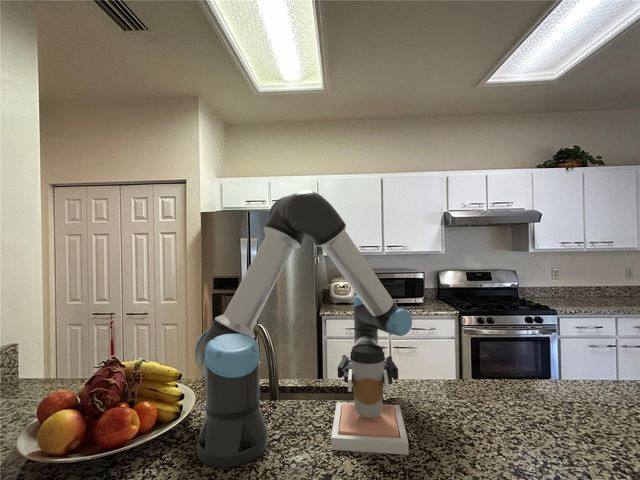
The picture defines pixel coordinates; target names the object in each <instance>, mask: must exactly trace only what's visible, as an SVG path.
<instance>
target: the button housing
mask: <svg viewBox="0 0 640 480" xmlns="http://www.w3.org/2000/svg"><path fill="white" fill-rule="evenodd" d="M335 403H336V404H335V410H334V417H333V424H332V429H331V437H330V450H331V451H342V452H344V451H345V452H357V453H359V452H360V453H377V454H389V455H390V454H393V455H394V454H395V455H410V454H409V440H408V435H407V431H406V427H405V422H404V418H403V415H402V414H403V413H402V410H401V406H400V404H388V405H389V406H394V411H395V416H396V421H397V426H398V431H399V438H391V437H373V436H356V435H339V430H340V421H341V413H342V405H343V403H345V404H355V402H339V401H338V402H335ZM382 405H385V404H383V403H382Z"/></svg>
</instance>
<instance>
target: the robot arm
mask: <svg viewBox="0 0 640 480" xmlns="http://www.w3.org/2000/svg"><path fill="white" fill-rule="evenodd" d="M267 215H268V217H267V219H268V220H267V222H266V224H265V225H264V227H263V231H264V234H265V235H264V236H265V237H264V239H263V241H262V242H261V245H260V246H259V248H258V250H257V252H256V254H255V255H254V257H253V260H251V263H250V265H249V266H248V268H247V270H246V272H245V274H244V276H243V277H242V280H241V282H240V283H239V285H238V287H237V289H236V291H235V293H234V295H233V296H232V298H231V300H230V302H229V303H228V305H227V307H226V309H225V311H224V313H223V314H221V315H218V316H216V317H214V319H213V321H212V323H211V325H210V326H209V329H207V330H205V331H204V332H203V333H202V335H200V337H199V338H198V341H197V342H196V345H195V351H194V352H195V361H196V364H197V367H198V368H199V369H200V371H201V374H202V376H203V378H204V383H205V384H204V385H205V416H204V418H203V419H204V420H203V422H202V426H201V427H200V428H201V429H200V432H199V436H198V438H197V444H196V446H197V447H196V448H197V452H196V453H197V458H198V459H199V460H200V462H202V463H203V464H205V465H207V466H210V467H214V468H219V469H220V468H222V469H223V468H224V469H225V468H234V467H238V466H241V465H246V464H248V463H249V462H252V461H253V460H255V459H257V458H259V457H260V456H261V454H263V453H264V452H265V450H266V448H267V446H268V443H269V441H268V440H269V438H268V436H269V435H268V434H269V433H268V428H267V425H266V423H265V420H264V416H263V414H262V410H261V407H260V361H261V360H260V359H261V356H260V355H261V354H260V350H259V349H260V347H259V343H258V341H257V340H256V339H255V337H256V335H255V332H254V327H255V325H256V323H257V321H258V319H259V317H260V315H261V313H262V311H263V309H264V307H265V304H266V303H267V300H269V297H270V295H271V294H272V292H273V289H274V287H275V286H276V283H277V282H278V280H279V277H280V276H281V274H282V272H283V270H284V267H285V266H286V265H287V261H288V260H289V257H290V256H291V254H292V252H293V251H294V250H297V249H300V248H301V246H302V244H303V243H304V240H305V238H306V237H308V238H309V239H310V240H312V242H313V243H314V245H315V246H316V247H318V248H319V247H320V248H322V249H323V251H324V252H325V253H326V254H327V256H328V257H329V259H330V260H331V262H332V263H333V264H334V266H335V267H336V269H337V270H338V271H339V272H340V274H341V275H342V277H343V278H344V280H346V282H347V283H348V285H349V286H350V287H351V289H352V290H353V292H354V293H355V294H356V295H354V297H353V321H354V322H353V323H354V325H353V327H354V329H353V333H354V336H353V338H354V341H353V344H354V345H353V346H355V345H358V344H374V345H378V346H379V334H378V333H379V331H381V332H384V333H387V334H389V335H391V336H397V337H398V336H399V337H403V336H406V335H407V334H409V332H410V331H411V329H412V325H413V317H412V315H411V314H410V312H409V311H408V310H407V309H403V308H401V307H398V306H397V303H396V302H395V301H394V300H393V298H392V296H391V294H389V292H388V290H386V288H385V287H384V285H383V284H382V282H381V280H380V279H379V277H378V276H377V274H376V273H375V272H374V270H373V269H372V267H371V266H370V265H369V263H368V262H367V260H366V259H365V257H364V256H363V254H362V253H361V251H360V250H359V248H358V247H357V245H356V244H355V243H354V242H353V240H352V238H351V237H350V235H349V234H348V233H347V231H346V230H347V229H346V228H347V224H346V222H345V221H344V220H343V218H342V217H341V215H340V214H339V212H337V210H336V209H335V208H334V206H332V204H331V203H330V202H329V201H328V200H327V199H326V198H324V196H322V195H320V194H319V193H317V192H315V191H312V190H301V191H296V192H295V193H292V194H290V195H285V196H283V197H281V198H279V199H278V200H276V201H275V202H274V203H273V204H272V205H271V207H270V209H269V211H268V214H267ZM378 330H379V331H378ZM341 356H342V357H341V358H342V359H341V361H340V362H339V364H338V366H337V378H338V379H341V378H343V382H344V383H347V392H350V393H353V383H352V366H351V359H350V356H347V355H345V354H343V355H341ZM383 377H384V382H383V389H384V393H385V394H389V392H390V391H389V390H390V389H389V387H390V386H389V385H392V384H393V380H395V381H397V380H399V368H398V367H397V365H396V364H395V362H394V360H393V357H392V355H391V356H390V355H389V356H387V357H385V360H384V374H383Z"/></svg>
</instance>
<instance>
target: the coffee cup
mask: <svg viewBox="0 0 640 480" xmlns="http://www.w3.org/2000/svg"><path fill="white" fill-rule="evenodd" d="M349 354H350V356H349V358H350V359H351V363H350V364H351V366H352V394H353V400H354V401H353V403H355V410H356V412H357V413H358V414H359V415H360V416H363V417H369V418H370V417H376V416H378V415H380V413H381V411H382V404H383V398H384V377H383V374H384V365H385V364H384V360H385V358H386V357H385V352H384V349H383V347H382V346H380V345H379V344H378V345H374V344H358V345H355V346H354V345H353V346H352V347H351V351H350V352H349Z"/></svg>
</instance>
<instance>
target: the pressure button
mask: <svg viewBox="0 0 640 480" xmlns="http://www.w3.org/2000/svg"><path fill="white" fill-rule="evenodd" d="M342 403H343V405H342V413H341V421H340V430H339V435H356V436H373V437H391V438H399V431H398V426H397V421H396V416H395V411H394V406H389V405H390V404H384V405H382V411H381V413H380V415H378V416H376V417H370V418H369V417H363V416H360V415H359V414H358V413H357V412H356V410H355V404H345V403H346V402H342Z"/></svg>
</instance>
